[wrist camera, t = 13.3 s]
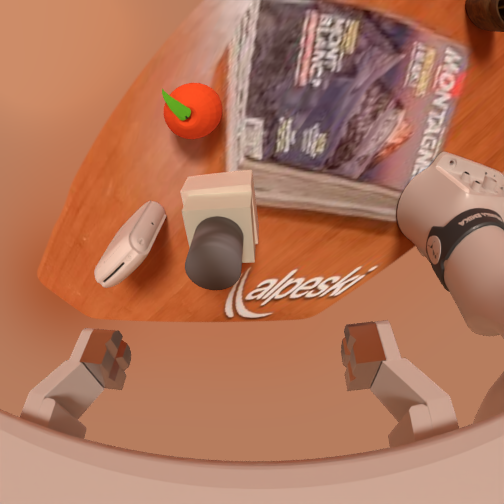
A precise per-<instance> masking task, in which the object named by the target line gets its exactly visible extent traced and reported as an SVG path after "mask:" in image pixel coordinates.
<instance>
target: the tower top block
mask: <svg viewBox="0 0 504 504" xmlns="http://www.w3.org/2000/svg"><path fill="white" fill-rule="evenodd" d="M182 215H183V219H184V224H185V229H186V233H187V238H188V243H189V247H190V246H191V242H192V239H193V236H194V233H195V230H196V227H197V226H198V224H199V223H200V222H201V221H203V220H204V219H206V218H209V217H214V216H221V217H226V218H228V219H231V220H232V221H234V222H235V223H237V224H238V225H239V227H240V228H241V230H242V232H243V236H244V241H243V254H242V263H251V262H255V233H254V219H253V206H252V192H233V193H216V194H201V195H189V196H188V198H187V200H186V202H185V205H184V207H183V209H182Z"/></svg>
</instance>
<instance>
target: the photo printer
mask: <svg viewBox="0 0 504 504" xmlns="http://www.w3.org/2000/svg"><path fill="white" fill-rule="evenodd" d="M165 218H166V214H165V211H164V208H163V207H162V206H161V205H160V204H159V203H157V202H154V201H148V202H147V203H145V204H144V205H143V206H142V207H141V208H139V209H138V210H137V211H136V212H135V213H134V214H133V215H132V216H131V217H130V218H129V219H128V220H127V222H126V223H125V224H124V225H123V226H122V227H121V228H120V230H119V231H118V232H117V234H116V235H115V237H114V238H113V240H112V241H111V243H110V244H109V246H108V248H107V249H106V251H105V253H104V254H103V256H102V258H101V259H100V261H99V263H98V264H97V266H96V269H95V279H96V281H97V282H98V283H100V284H101V285H102V286H103V287H105V288H109V287H112V286H115V285H117V284H119V283H120V282H122V281H123V280H124V279H125V278H127V277H128V276H129V275H130V274H131V273H132V272H133V271H134V270H135V269H136V268H137V267H138V266H139V265H140V264H141V263H142V262H143V261H144V259H145V258H146V257H147V255H148V253H149V252H150V250H151V247H152V245H153V243H154V241H155V239H156V237H157V235H158V232H159V230H160V228H161V226H162V224H163V222H164V220H165Z"/></svg>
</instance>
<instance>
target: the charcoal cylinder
mask: <svg viewBox="0 0 504 504" xmlns="http://www.w3.org/2000/svg"><path fill="white" fill-rule="evenodd" d="M243 241H244V236H243V232H242V230H241V228H240V227H239V225H238V224H237V223H235V222H234V221H232V220H231V219H228V218H226V217H221V216H214V217H209V218H206V219H204V220H203V221H201V222H200V223H199V224H198V226H197V227H196V230H195V233H194V236H193V239H192V242H191V246H190V249H189V252H188V255H187V259H186V262H185V270H186V273H187V275H188V277H189V278H190V279H191V280H192V281H193V282H194V283H195V284H197V285H198V286H200V287H202V288H205V289H209V290H222V289H226V288H229V287H231V286H232V285H234V284H235V283H236V282H237V281H238V280H239V278H240V275H241V266H242V254H243Z"/></svg>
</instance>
